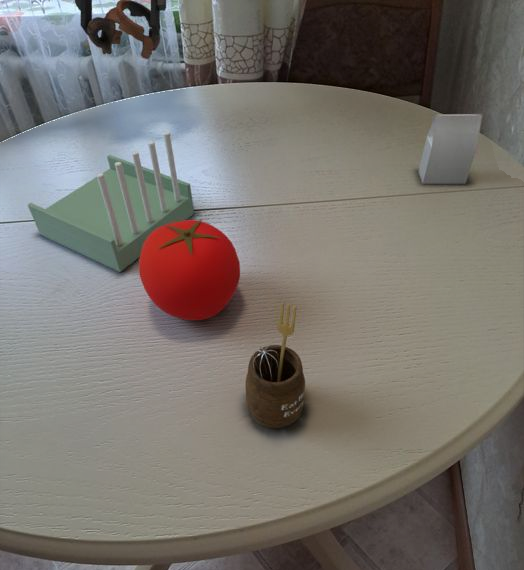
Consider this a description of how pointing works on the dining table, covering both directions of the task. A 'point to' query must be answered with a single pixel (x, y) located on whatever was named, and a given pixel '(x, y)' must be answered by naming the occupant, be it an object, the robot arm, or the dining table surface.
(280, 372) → the utensil holder
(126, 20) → the brown curved ring piece
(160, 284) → the tomato
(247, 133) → the dining table surface
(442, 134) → the grey block
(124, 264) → the dish rack
